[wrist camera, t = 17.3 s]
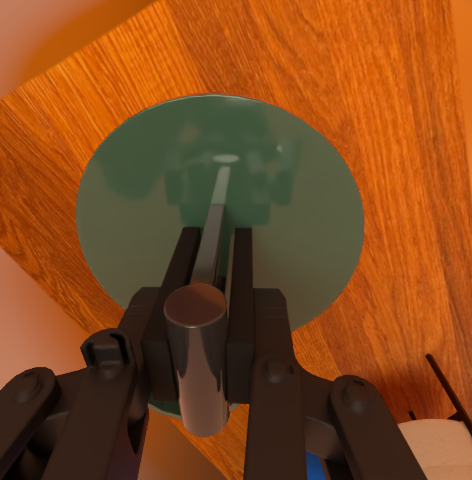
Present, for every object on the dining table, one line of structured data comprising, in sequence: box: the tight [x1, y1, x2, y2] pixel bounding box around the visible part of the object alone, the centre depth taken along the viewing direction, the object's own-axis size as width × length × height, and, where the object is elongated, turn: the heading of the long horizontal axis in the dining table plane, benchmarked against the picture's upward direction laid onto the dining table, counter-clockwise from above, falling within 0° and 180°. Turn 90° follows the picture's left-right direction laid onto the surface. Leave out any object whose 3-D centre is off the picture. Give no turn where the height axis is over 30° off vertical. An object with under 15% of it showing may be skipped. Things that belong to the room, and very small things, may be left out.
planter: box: [397, 354, 472, 480], centre depth 38 cm, size 15×16×23 cm
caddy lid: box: [76, 92, 364, 437], centre depth 12 cm, size 14×14×8 cm
